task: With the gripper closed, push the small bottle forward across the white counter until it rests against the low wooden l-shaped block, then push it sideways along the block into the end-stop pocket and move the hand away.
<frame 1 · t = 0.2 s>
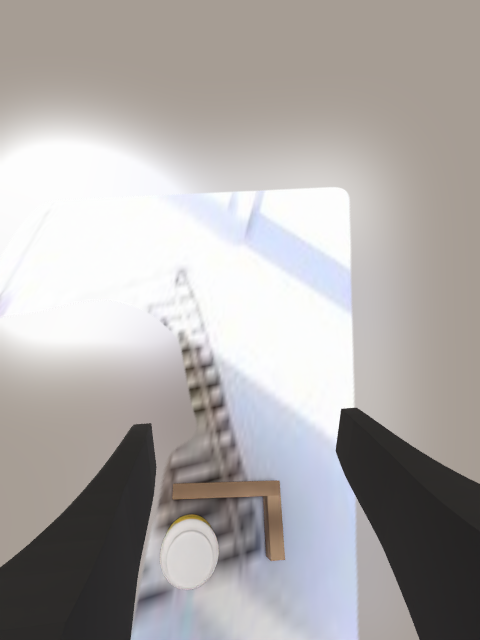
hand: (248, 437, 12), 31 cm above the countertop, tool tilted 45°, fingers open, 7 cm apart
supplement bottle: (189, 541, 37), on the countertop
wooden l-shaped block: (225, 489, 39), on the countertop
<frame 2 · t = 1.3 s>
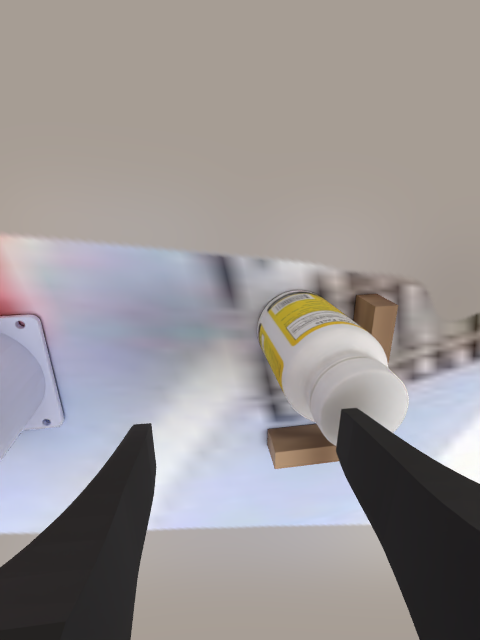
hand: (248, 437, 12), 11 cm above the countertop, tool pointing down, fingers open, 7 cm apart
supplement bottle: (293, 324, 23), on the countertop
wooden l-shaped block: (356, 371, 25), on the countertop
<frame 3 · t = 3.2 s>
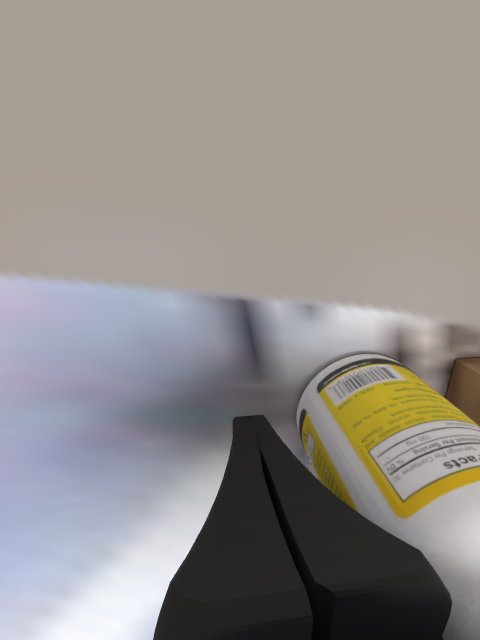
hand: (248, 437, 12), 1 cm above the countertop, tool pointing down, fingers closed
supplement bottle: (352, 402, 15), on the countertop, touching gripper
wooden l-shaped block: (441, 466, 16), on the countertop
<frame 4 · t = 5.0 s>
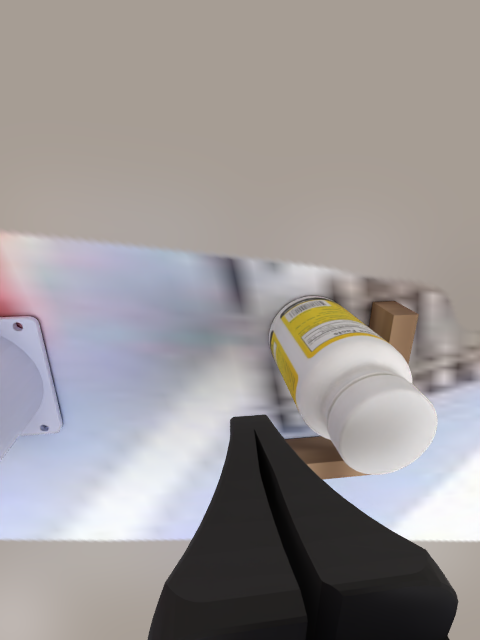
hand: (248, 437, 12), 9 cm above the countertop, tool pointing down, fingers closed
supplement bottle: (307, 332, 22), on the countertop
wooden l-shaped block: (370, 381, 24), on the countertop
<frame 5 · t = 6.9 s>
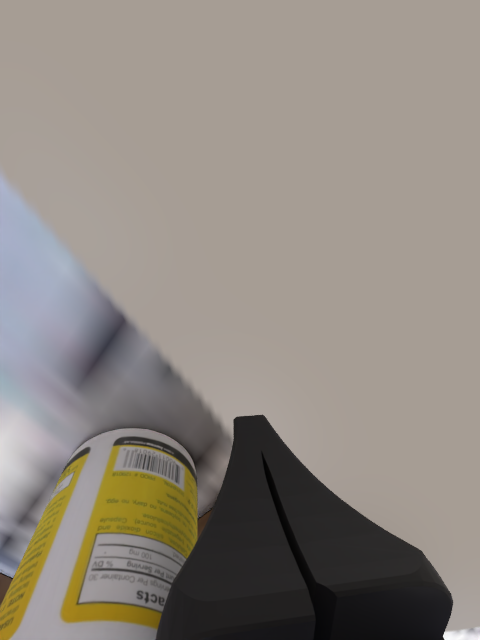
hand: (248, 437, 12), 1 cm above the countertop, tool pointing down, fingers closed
supplement bottle: (135, 470, 14), on the countertop, touching gripper
wooden l-shaped block: (153, 568, 17), on the countertop
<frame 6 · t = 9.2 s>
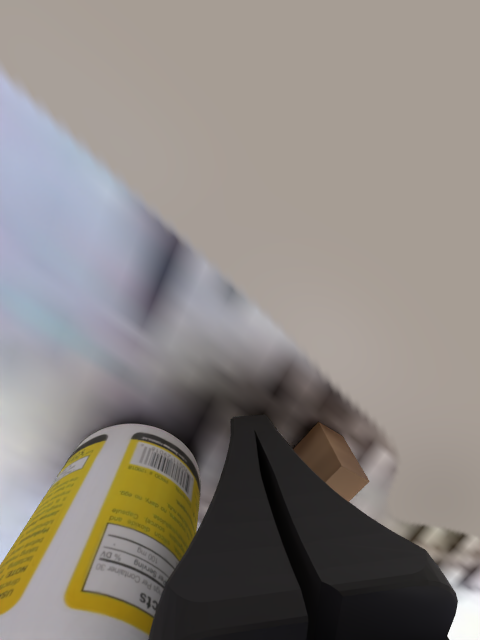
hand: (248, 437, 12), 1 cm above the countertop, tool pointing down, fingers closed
supplement bottle: (139, 470, 14), on the countertop, touching gripper
wooden l-shaped block: (248, 516, 16), on the countertop
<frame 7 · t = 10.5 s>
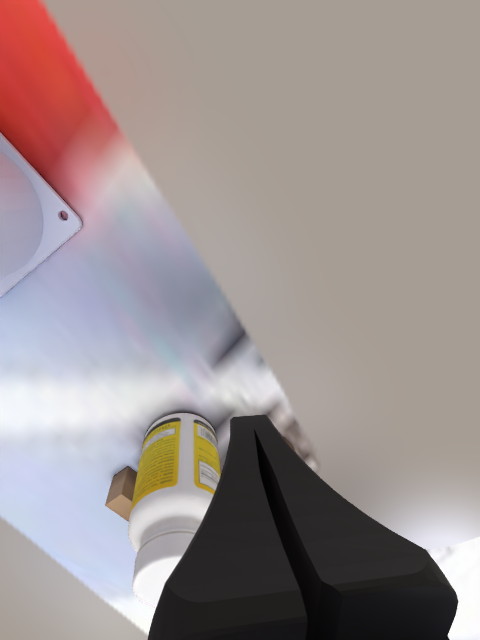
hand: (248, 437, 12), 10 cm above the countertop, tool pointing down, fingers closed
supplement bottle: (181, 438, 25), on the countertop
wooden l-shaped block: (228, 482, 27), on the countertop
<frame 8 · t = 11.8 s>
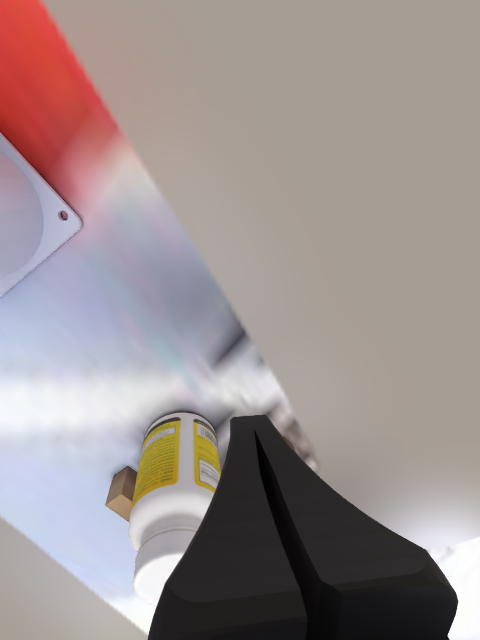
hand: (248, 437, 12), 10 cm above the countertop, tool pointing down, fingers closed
supplement bottle: (181, 438, 25), on the countertop
wooden l-shaped block: (228, 482, 27), on the countertop
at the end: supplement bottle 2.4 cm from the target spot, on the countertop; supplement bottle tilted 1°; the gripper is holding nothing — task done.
